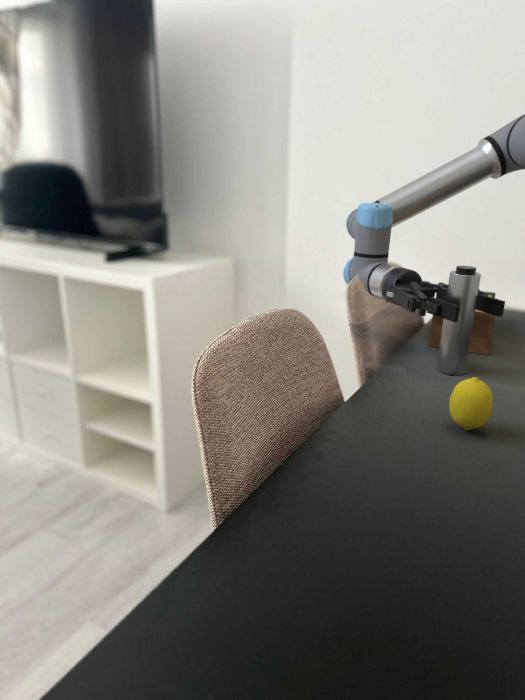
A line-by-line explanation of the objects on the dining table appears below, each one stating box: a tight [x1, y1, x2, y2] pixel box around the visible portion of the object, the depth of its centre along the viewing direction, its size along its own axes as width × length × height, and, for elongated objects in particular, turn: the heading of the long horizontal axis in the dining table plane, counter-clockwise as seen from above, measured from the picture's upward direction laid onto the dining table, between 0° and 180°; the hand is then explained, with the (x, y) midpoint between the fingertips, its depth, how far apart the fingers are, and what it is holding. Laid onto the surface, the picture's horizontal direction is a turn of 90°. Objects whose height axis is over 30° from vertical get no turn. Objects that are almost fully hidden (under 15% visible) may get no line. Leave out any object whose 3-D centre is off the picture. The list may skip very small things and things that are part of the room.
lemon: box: [448, 376, 494, 432], centre depth 71 cm, size 6×6×8 cm
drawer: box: [482, 290, 497, 298], centre depth 120 cm, size 15×10×7 cm
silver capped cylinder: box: [436, 265, 482, 376], centre depth 91 cm, size 5×5×19 cm
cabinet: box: [428, 297, 497, 356], centre depth 110 cm, size 15×12×9 cm
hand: (480, 311), depth 86 cm, fingers open, 9 cm apart
